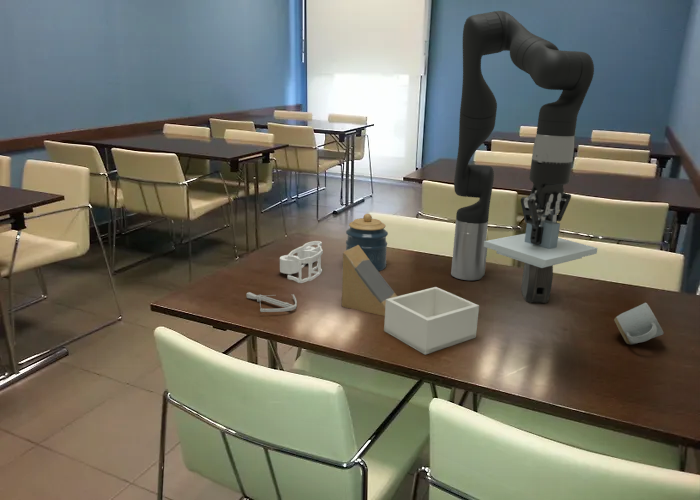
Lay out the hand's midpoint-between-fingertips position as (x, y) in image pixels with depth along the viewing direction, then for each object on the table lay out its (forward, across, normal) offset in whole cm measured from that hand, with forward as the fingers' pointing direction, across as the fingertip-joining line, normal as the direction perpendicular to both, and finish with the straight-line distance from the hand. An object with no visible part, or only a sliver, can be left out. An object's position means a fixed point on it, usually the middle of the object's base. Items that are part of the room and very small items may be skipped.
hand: (540, 242), depth 112 cm
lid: (+2, 0, 0) cm, 2 cm away
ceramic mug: (+25, -25, +11) cm, 37 cm away
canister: (+25, -4, -64) cm, 69 cm away
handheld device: (+25, -28, -21) cm, 44 cm away
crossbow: (+26, +35, -54) cm, 69 cm away
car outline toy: (+25, +14, -71) cm, 77 cm away
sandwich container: (+26, +12, -38) cm, 48 cm away
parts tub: (+25, +11, -18) cm, 33 cm away
